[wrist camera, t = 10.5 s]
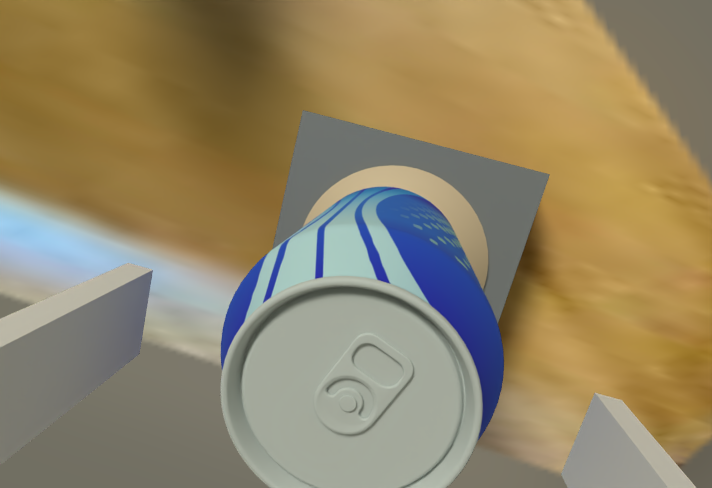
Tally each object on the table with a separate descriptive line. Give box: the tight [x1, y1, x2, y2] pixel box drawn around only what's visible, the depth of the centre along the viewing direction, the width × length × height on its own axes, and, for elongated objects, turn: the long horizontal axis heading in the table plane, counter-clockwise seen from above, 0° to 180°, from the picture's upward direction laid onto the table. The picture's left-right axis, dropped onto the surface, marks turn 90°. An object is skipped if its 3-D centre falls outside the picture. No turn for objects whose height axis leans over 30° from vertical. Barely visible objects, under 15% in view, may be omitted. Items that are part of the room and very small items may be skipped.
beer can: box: [221, 187, 504, 488], centre depth 19 cm, size 8×8×16 cm
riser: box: [273, 110, 550, 323], centre depth 30 cm, size 14×14×5 cm
